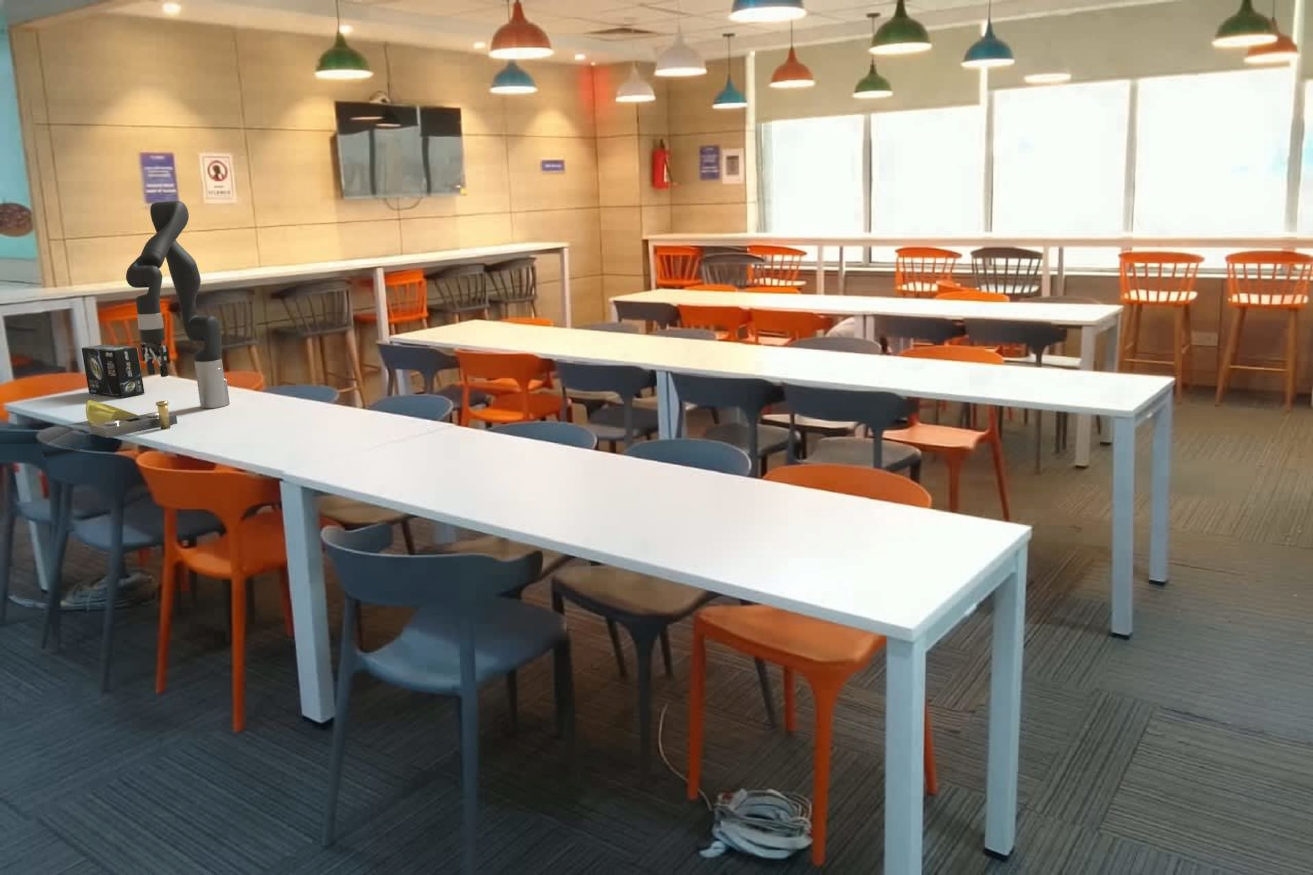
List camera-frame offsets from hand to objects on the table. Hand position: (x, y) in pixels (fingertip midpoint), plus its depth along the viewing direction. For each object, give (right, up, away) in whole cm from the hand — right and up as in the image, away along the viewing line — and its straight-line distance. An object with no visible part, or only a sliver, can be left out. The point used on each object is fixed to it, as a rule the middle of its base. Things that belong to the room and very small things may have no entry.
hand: (157, 375), depth 350 cm
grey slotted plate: (-10, -18, +5) cm, 21 cm away
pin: (+1, -17, +4) cm, 18 cm away
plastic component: (-24, -16, +16) cm, 32 cm away
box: (-48, -4, +67) cm, 83 cm away
